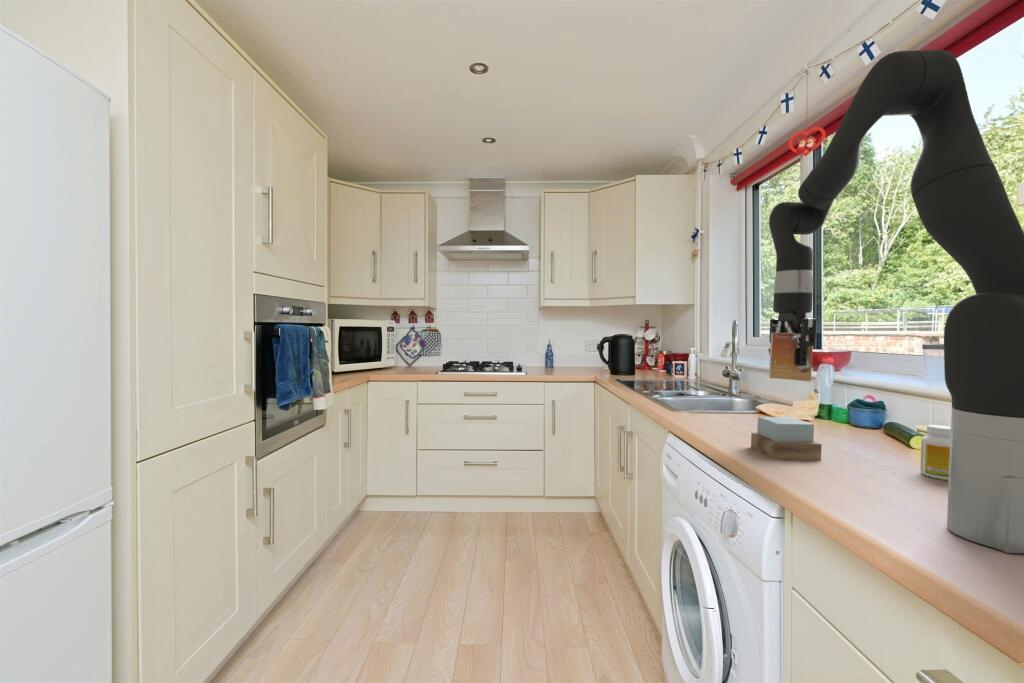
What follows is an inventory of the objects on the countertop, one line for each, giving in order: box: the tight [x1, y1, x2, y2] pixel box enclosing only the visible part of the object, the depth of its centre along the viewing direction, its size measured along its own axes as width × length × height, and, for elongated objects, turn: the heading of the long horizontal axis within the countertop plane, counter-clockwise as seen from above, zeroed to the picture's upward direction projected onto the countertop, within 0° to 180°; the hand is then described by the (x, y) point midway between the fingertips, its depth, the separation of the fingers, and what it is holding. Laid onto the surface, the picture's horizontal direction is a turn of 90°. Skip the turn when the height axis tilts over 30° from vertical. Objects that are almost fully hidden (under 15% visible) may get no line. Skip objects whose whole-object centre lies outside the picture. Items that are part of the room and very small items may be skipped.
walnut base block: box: [750, 432, 823, 461], centre depth 103 cm, size 10×10×4 cm
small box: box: [768, 333, 814, 382], centre depth 103 cm, size 8×6×10 cm
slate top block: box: [756, 416, 815, 442], centre depth 103 cm, size 8×8×4 cm
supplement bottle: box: [920, 424, 951, 481], centre depth 88 cm, size 5×5×10 cm
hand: (789, 364), depth 103 cm, fingers closed on small box, 7 cm apart
